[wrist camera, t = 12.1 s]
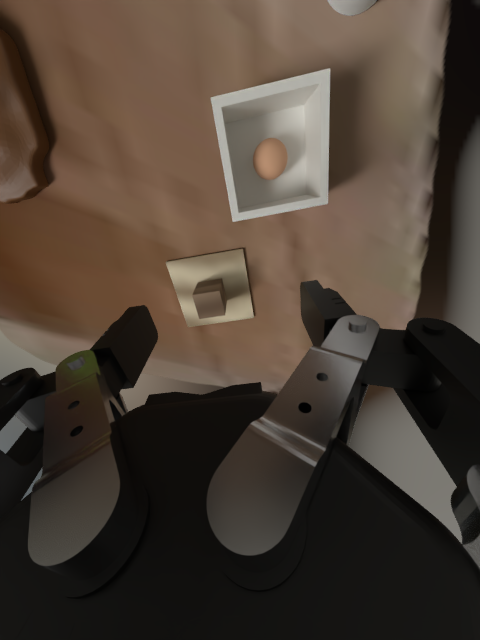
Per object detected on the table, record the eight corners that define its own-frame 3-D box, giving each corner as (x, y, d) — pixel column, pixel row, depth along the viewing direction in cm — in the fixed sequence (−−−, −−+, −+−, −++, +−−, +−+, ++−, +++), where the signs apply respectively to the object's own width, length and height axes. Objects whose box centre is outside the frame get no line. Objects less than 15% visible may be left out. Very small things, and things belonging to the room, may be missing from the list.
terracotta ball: (250, 145, 28) (251, 139, 24) (283, 137, 27) (289, 130, 24) (254, 183, 30) (256, 182, 26) (285, 176, 29) (291, 175, 26)
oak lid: (167, 260, 36) (155, 272, 31) (242, 247, 35) (242, 258, 30) (189, 324, 42) (181, 343, 37) (253, 314, 41) (255, 333, 36)
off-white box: (217, 117, 27) (210, 97, 21) (309, 95, 26) (330, 68, 20) (234, 214, 32) (232, 221, 26) (311, 200, 31) (328, 203, 25)
